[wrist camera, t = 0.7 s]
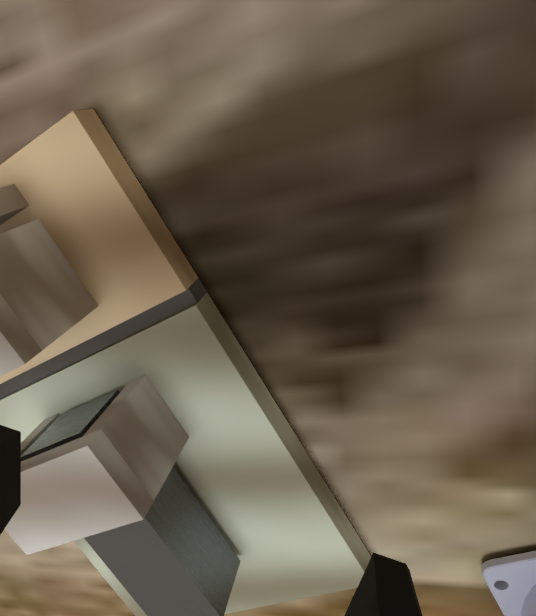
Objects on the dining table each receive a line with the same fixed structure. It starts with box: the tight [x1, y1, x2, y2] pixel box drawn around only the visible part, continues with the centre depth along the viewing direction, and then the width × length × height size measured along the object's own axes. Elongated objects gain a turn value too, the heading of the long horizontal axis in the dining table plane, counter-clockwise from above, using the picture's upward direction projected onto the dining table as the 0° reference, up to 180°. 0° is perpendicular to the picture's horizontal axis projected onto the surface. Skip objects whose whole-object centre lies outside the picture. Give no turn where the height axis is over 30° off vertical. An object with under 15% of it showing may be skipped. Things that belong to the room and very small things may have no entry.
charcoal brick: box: [21, 389, 240, 616], centre depth 20 cm, size 9×3×3 cm, turn 30°
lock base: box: [0, 109, 371, 616], centre depth 19 cm, size 20×12×5 cm, turn 30°
